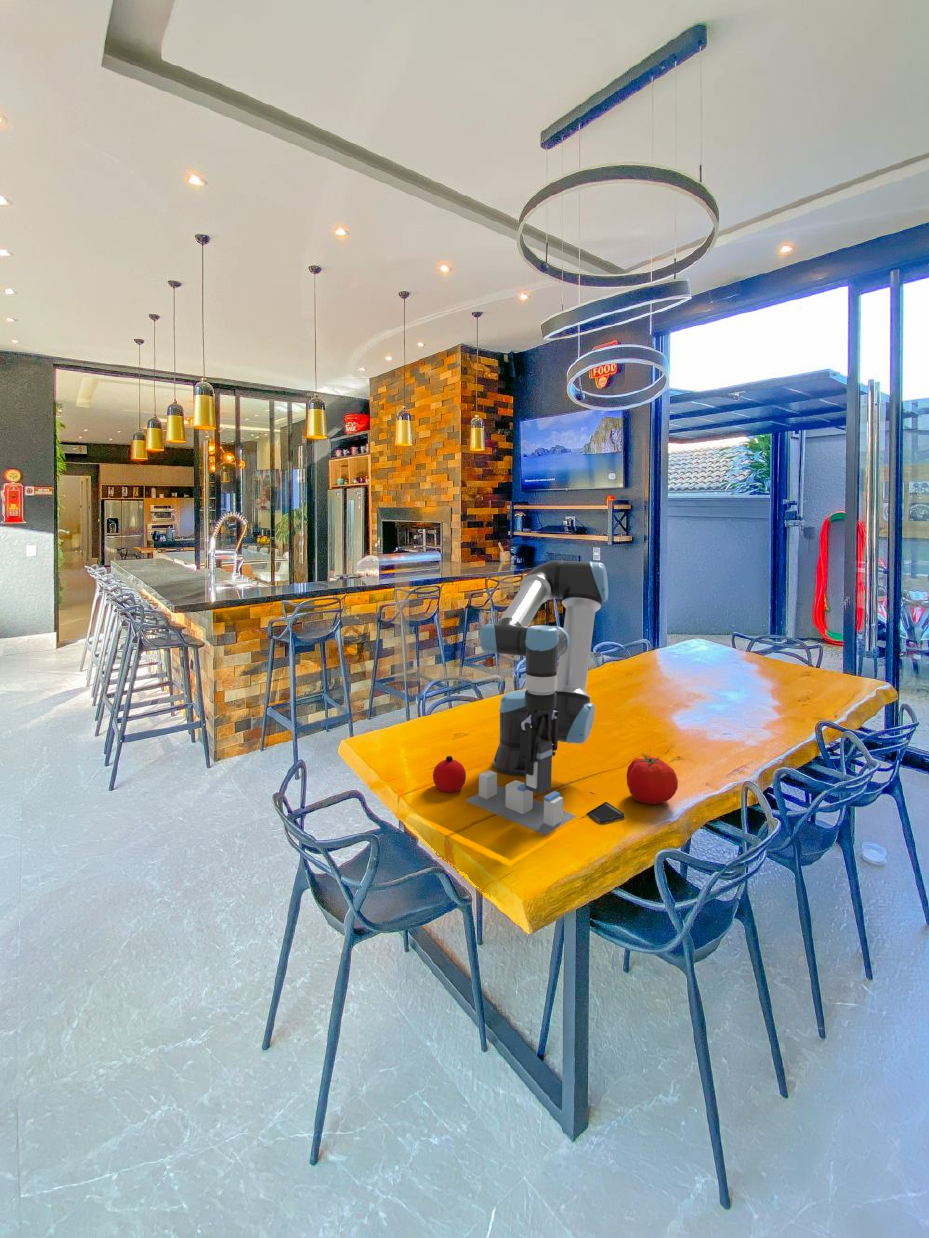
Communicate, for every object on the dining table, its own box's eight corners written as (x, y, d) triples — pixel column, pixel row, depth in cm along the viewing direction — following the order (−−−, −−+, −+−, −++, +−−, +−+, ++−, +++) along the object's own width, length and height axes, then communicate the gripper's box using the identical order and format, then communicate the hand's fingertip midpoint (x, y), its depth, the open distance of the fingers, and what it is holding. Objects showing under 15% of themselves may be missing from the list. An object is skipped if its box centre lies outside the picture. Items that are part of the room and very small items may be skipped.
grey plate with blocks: (497, 788, 176) (497, 761, 175) (576, 819, 158) (577, 790, 157) (464, 803, 167) (464, 775, 166) (544, 839, 149) (545, 807, 148)
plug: (536, 783, 160) (537, 737, 158) (551, 788, 157) (552, 741, 155) (524, 788, 157) (525, 741, 155) (539, 794, 154) (541, 746, 152)
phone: (590, 791, 173) (626, 814, 159) (590, 795, 173) (626, 819, 159) (565, 796, 169) (600, 821, 156) (565, 800, 170) (600, 825, 156)
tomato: (637, 785, 178) (639, 746, 176) (684, 799, 169) (686, 758, 167) (616, 800, 169) (618, 759, 167) (664, 816, 160) (667, 773, 158)
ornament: (472, 789, 175) (472, 754, 174) (453, 801, 168) (453, 765, 166) (445, 781, 180) (445, 748, 179) (426, 793, 173) (425, 758, 171)
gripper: (549, 681, 162) (547, 769, 165) (504, 694, 149) (503, 789, 153) (574, 686, 156) (571, 777, 160) (530, 701, 144) (528, 799, 148)
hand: (538, 783), depth 157 cm, fingers closed on plug, 4 cm apart
